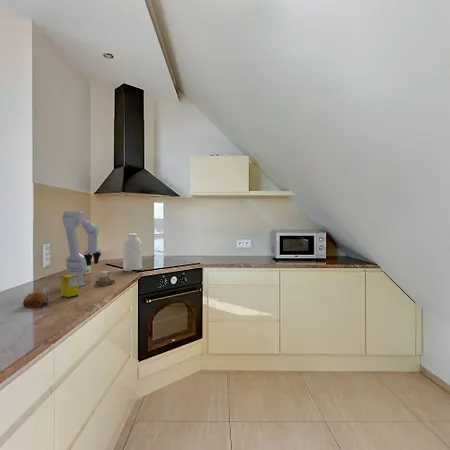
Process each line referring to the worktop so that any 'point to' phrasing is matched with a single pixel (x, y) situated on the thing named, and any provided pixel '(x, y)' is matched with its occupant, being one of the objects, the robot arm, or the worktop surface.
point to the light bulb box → (87, 269)
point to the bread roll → (35, 300)
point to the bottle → (132, 253)
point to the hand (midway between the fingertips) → (92, 264)
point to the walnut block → (105, 282)
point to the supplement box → (69, 286)
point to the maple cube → (104, 275)
